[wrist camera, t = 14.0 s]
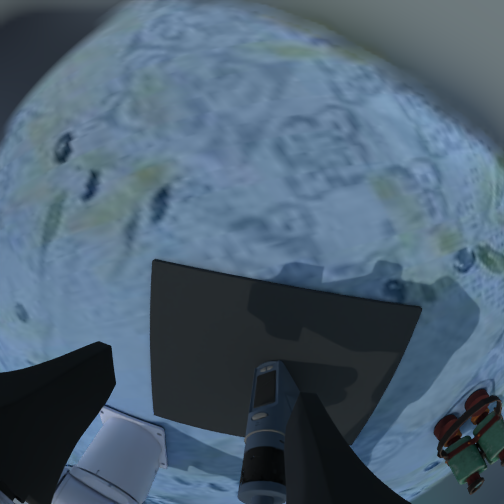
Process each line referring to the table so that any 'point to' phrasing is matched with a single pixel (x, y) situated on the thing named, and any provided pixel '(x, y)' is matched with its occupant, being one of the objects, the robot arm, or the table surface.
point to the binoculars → (472, 440)
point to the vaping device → (267, 435)
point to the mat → (267, 346)
